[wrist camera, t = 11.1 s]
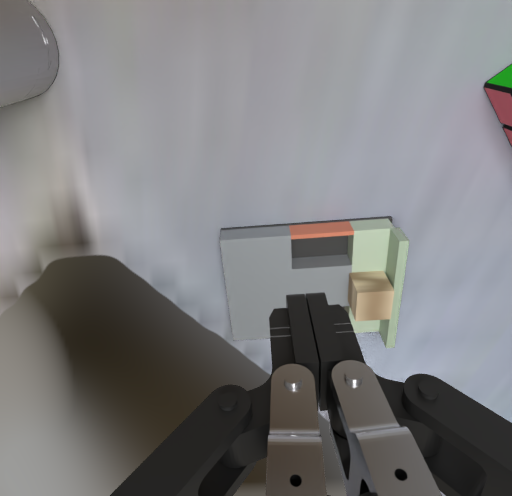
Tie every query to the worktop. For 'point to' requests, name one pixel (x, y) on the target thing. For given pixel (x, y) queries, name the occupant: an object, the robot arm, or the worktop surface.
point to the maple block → (370, 295)
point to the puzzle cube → (502, 98)
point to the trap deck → (308, 268)
